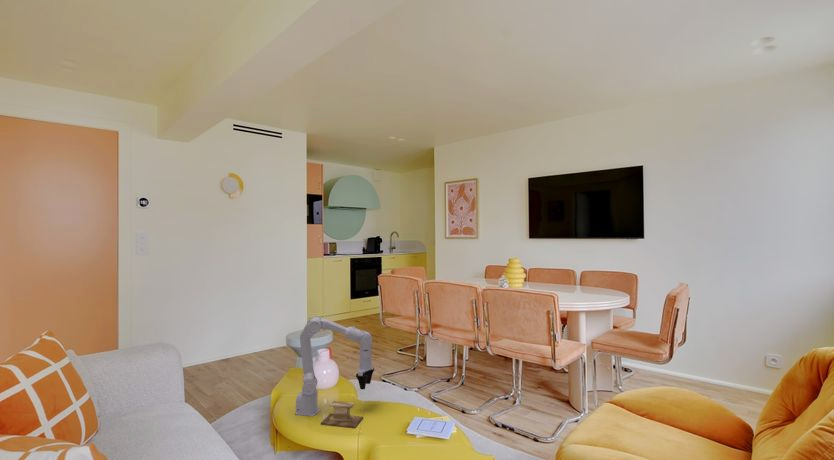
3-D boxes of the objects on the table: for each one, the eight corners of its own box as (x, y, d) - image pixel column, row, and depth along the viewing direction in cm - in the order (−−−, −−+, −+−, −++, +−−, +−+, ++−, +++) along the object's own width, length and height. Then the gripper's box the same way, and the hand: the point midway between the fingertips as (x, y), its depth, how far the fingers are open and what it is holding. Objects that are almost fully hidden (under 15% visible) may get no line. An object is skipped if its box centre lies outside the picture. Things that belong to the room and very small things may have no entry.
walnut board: (320, 424, 173) (320, 422, 173) (330, 415, 183) (330, 413, 183) (355, 428, 170) (355, 426, 170) (363, 418, 180) (363, 416, 180)
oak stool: (350, 422, 173) (350, 406, 174) (329, 420, 176) (329, 404, 176) (354, 418, 177) (354, 402, 178) (333, 416, 180) (333, 400, 180)
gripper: (368, 362, 184) (368, 392, 183) (378, 354, 198) (377, 381, 198) (354, 361, 186) (353, 391, 185) (364, 353, 200) (364, 380, 199)
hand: (365, 386), depth 191 cm, fingers open, 7 cm apart
